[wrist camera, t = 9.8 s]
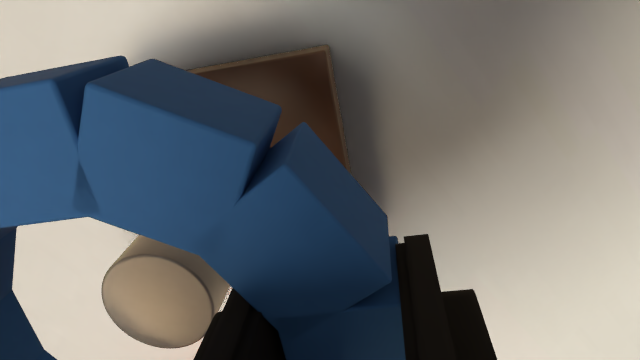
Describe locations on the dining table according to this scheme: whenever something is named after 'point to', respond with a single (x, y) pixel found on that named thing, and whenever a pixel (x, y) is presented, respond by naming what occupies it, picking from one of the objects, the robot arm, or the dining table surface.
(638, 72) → the dining table surface
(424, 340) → the robot arm
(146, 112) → the collar
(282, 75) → the peg on square base
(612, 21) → the dining table surface
